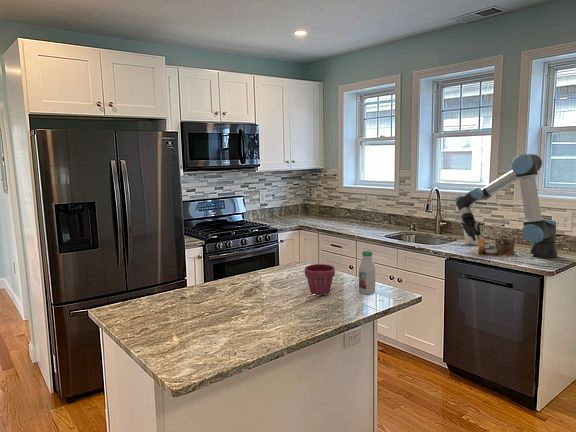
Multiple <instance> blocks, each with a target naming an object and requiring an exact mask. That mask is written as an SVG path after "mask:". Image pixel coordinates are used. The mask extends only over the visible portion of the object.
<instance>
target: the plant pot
mask: <svg viewBox="0 0 576 432" xmlns="http://www.w3.org/2000/svg"><path fill="white" fill-rule="evenodd" d="M335 270H336V269H335V266H334V265H330V264H324V263H317V264H316V263H315V264H310V265H307V266H305V267H304V275H305V277H306V279H307V284H308V288H309V293H310V292H311V293H312V294H316V295H325V294H328V293H329V294H330V292H331V287H332V283H333V278H334V277H335V275H336V274H335V273H336V272H335ZM311 293H310V294H311ZM312 294H311V295H312Z"/></svg>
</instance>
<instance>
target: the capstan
mask: <svg viewBox="0 0 576 432" xmlns="http://www.w3.org/2000/svg"><path fill="white" fill-rule="evenodd" d="M477 249H478V254H487V255H498V254H499V249H498V248H495V245H494V244H489V246H486V238H485V237H484V238H479V246H478V247H477Z"/></svg>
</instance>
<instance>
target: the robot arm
mask: <svg viewBox="0 0 576 432" xmlns="http://www.w3.org/2000/svg"><path fill="white" fill-rule="evenodd" d="M542 165H543V161H542V158H541V157H540V156H539V155H537V154H533V153H532V154H531V153H530V154H529V153H528V154H526V153H523V154H519V155H517V156H516V157H514V158H513V159H512V162H511V165H510V166H511V170H510V171H509V172H506V173H505V174H503V175H502V176H500V177H499V178H497V179H496V180H493V181H492V182H491V183H489V184H488V185H486V186H484V187H482V188H480V187H478V186H476V187H474V188H472V189H470V191H468V192H467V193H466V194H465V195H464V194H460V195H458V196H456V197H455V200H454V201H455V205H456V206H457V209H458V212H459V215H460V217H461V220H462V223H461V224H460V227H461V228H462V230H463V229H464V230H465V232H466V233H467V235H468V236H471V238H472V239H473V241H475V244H474V245H475V246H479V235H480V222H481V221H477V220H476V219H475V217H474V214H473V211H472V209H471V206H472V205H473V204H474V203H475V202H478V201H487V200H489V199H490V198H491V197H492V196H494V195H496V194H498V193H499V192H501V191H502V190H504V189H505V188H508V187H509V186H511V185H512V184H515V183H516V182H517V181H519V185H520V192H521V198H522V199H521V200H522V205H523V212H524V220H523V221H522V223H523V228H522V229H521V236H522V238H523V240H525V241H526V242H527V243H531V244H532V246H531V249H530V252H529V253H530V254H531V255H532V256H533V257H535V258H542V259H555V258H558V250H557V248H556V247H557V246H556V238H557V237H556V236H557V235H556V234H557V228H558V227H557V226H558V225H557V221H555V220H552V219H551V220H550V219H545V218H544V217H542V215H541V214H542V213H541V207H540V205H541V204H540V201H539V199H540V198H539V194H538V186H537V179H536V177H538V175H539V174H538V171H540V169H541V168H542ZM477 222H479V223H477ZM475 224H476V228H475ZM476 229H477V230H476ZM464 230H463V231H464Z"/></svg>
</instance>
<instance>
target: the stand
mask: <svg viewBox="0 0 576 432" xmlns="http://www.w3.org/2000/svg"><path fill="white" fill-rule="evenodd" d="M495 248H498V249H499V254H498V255H487V254H478V248H474V249H471V250H470V251H468V252H467V254H471V255H478V256H483V257H484V256H485V257H493V258H500V259H508V258H509V257H511V256H512V255H514V254H515V239H513V238H504V237H503V238H502V237H495Z"/></svg>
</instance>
